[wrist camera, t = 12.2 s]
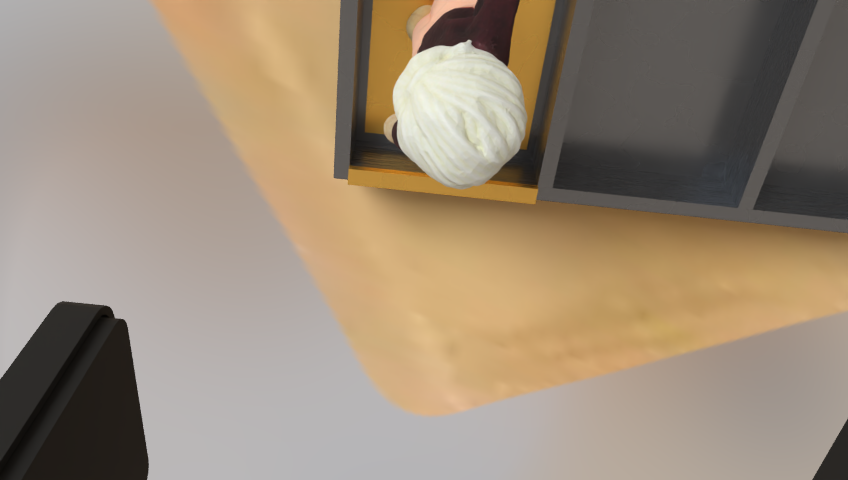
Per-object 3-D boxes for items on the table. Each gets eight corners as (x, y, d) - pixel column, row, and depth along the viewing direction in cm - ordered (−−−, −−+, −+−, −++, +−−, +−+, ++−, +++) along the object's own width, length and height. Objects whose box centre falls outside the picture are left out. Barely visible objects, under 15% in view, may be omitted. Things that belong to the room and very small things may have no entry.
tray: (1096, -155, 25) (1175, -144, 22) (905, 206, 33) (946, 248, 30) (361, -244, 25) (349, -244, 22) (343, 146, 32) (332, 182, 30)
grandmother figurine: (472, 105, 30) (481, 294, 20) (382, 74, 30) (341, 251, 19) (552, -88, 26) (618, 20, 16) (449, -129, 26) (445, -46, 15)
